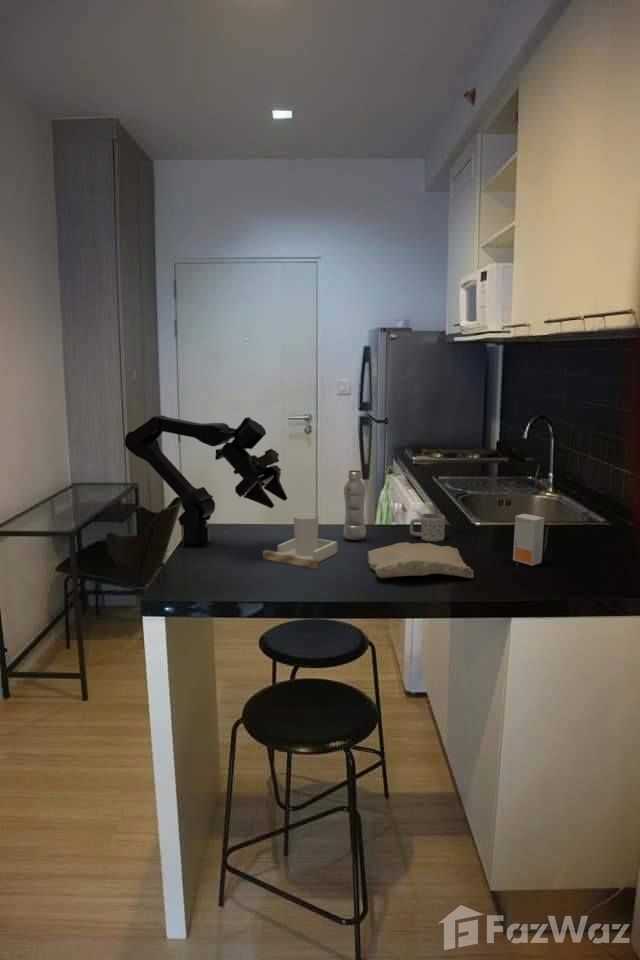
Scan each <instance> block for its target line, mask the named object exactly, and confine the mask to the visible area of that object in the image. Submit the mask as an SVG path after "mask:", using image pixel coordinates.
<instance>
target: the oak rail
mask: <svg viewBox="0 0 640 960" xmlns="http://www.w3.org/2000/svg"><path fill="white" fill-rule="evenodd" d="M262 558H263V560H268V561H272V562H279V563H284V564H288V565H294V566H299V567H304V568H309V569H317V568H318V567H319V565H318V564H319V562H318V559H312V558H307V557H302V556H296V555H291V554H285V553H280V552H278V551H274V550H269V549H265V550H263V551H262Z"/></svg>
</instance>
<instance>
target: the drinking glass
mask: <svg viewBox="0 0 640 960" xmlns="http://www.w3.org/2000/svg"><path fill="white" fill-rule="evenodd" d="M319 518H320V517H319V515H318V514H316V513H311V512H310V513H309V512H307V513H306V512H305V513H303V512H302V513H296V514H294V515H293V529H294V538H295V551H296V554H298V555H302V556H309V555H313V553H312V552H313V551H315V550H317V543H318V539H319Z"/></svg>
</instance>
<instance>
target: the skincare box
mask: <svg viewBox="0 0 640 960" xmlns="http://www.w3.org/2000/svg"><path fill="white" fill-rule="evenodd" d="M544 526H545V517H542V516H537V515H534V514H533V515H532V514H526V513H521V514H517V515H515V517H514V533H513V536H514V537H513V552H512V553H513V555H512V560H513V561H515V562H518V563H522V564H526V565H529V566H532V567H533V566H535V565H539V564H541V563H542V561H543V560H542V559H543V558H542V557H543V543H544V529H545V527H544Z"/></svg>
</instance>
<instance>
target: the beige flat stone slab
mask: <svg viewBox="0 0 640 960" xmlns="http://www.w3.org/2000/svg"><path fill="white" fill-rule="evenodd" d="M367 563H368V564H369V568H370V569H371V570H373V571H374V572H375V574H376V576H378V578H379V579H387V578H396V577H409V576H411V577H413V576H416V577H417V576H419V577H420V576H428V575H432V574H433V575H434V574H439V575H440V574H441V575H446V576H455V577H461V578H465V579H474V577H475V576H474V569H471V567H470V566H469V565H468V566H467V564H466V563H465V562H464V560H463V557H461V555H460V552H459V550H458V548H457V547H452V546H451V545H444V546H440V545H437V544H433V543H430V542H427V543H425V542H424V543H423V542H420V543H418V542H417V543H410V542H398V543H393V544H391V545H386V546H382V547H379V548H375V549H372V550H371V549H370V550H369V551H367Z"/></svg>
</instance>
